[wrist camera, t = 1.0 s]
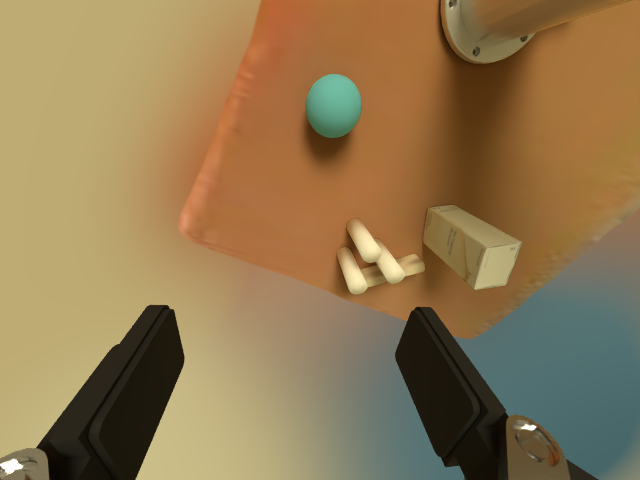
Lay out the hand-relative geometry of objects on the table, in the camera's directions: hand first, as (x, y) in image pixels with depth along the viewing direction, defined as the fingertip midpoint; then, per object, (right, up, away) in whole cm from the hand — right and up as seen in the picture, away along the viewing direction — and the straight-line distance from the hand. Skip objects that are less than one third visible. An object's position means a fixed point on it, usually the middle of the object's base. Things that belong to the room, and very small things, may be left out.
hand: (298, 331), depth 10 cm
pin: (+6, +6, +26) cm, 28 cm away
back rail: (+11, -1, +31) cm, 33 cm away
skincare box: (+19, +6, +28) cm, 35 cm away
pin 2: (+9, +3, +28) cm, 30 cm away
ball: (+2, +18, +16) cm, 24 cm away
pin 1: (+5, +2, +29) cm, 29 cm away
